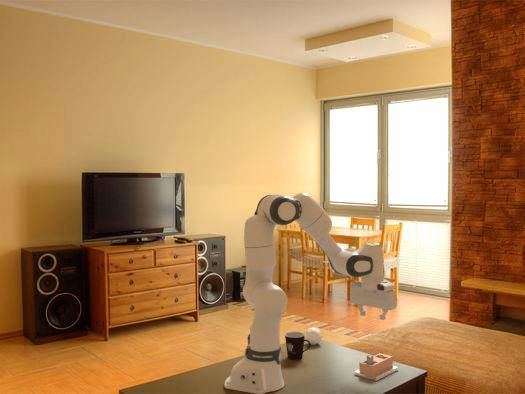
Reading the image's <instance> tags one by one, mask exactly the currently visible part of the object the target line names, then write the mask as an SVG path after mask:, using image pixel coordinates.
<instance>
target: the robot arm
mask: <svg viewBox="0 0 525 394" xmlns="http://www.w3.org/2000/svg"><path fill="white" fill-rule="evenodd" d="M256 206H257V207H256V209H255V211H254V213H253V214H254V215H251V216H250V217H248V218H247V219H246V221H245V223H244V230H243V231H244V233H243V240H244V242H243V244H244V254H245V264H246V266H245V268H246V269H245V270H246V271H245V280H244V281H245V282H244V285H243V288H242V295H243V297H244V299H245V301H246V303H247V304H248V305H249V306H251V307H252V308H254V314H253V315H254V316H253V319H252V323H251V324H250V327H249V334H250V344H249V345H248V344H247V346H246V347H245V350H244V355H245V356H244V357H243V358H242V359H240V360H239V361H238V362H237V363H235V364H234V365H233V367H232V369H231V371H230V375H229V376H228V377H227V378H226V379H225V381H224V385H223V387H224V388H225V389H227V390H233V391H239V392H244V393H250V394H266V393H269V392H276V391H278V390H281V389H282V388H284V386H285V385H286V384H285V380H284V378H283V373H282V366H281V362H282V348H281V346H280V344H281V343H280V342H281V341H280V336H281V335H280V334H281V333H280V332H281V331H280V329H281V328H280V327H281V323H282V322H281V320H282V316H283V312H284V311H285V310H286V308H288V307H287V306H288V301H289V300H288V296H287V294H286V292H285V291H284V290H283V289H282V288H281V287H280V286H278V285H276V284H274V283H273V274H274V268H275V267H276V264H277V262H276V261H277V258H276V251H275V242H274V241H275V240H274V230H275V228H276V226H277V225H278V226H287V225H291V224H292V223H293V222H296V223H297V224H298V226H299V227H300V228H302V231H304V233H306V234H307V235H308V236H309V237H310V238H311V239H312V240H313V241H314V242H315V243H316V245H317V246H318V247H319V248H320V250H321V251H322V252H323V253H324V255H325V256H326V257H327V260H328V262H329V265H330V268H331V269H332V270H333V272H335V273H336V274H339V275H344V276H347V277H352V278H360V277H361V281H357V280H354V281H352V282H351V283H350V293H349V301H350V303H351V304H354V305H357V308H358V311H359V315H360V316H362V317H364V316H366V310H364V308H363V307H364V306H365V307H370V308H375V309H376V308H377V309H381V310H382V311H381V312H382V314H379V320H380V321H381V320H382V321H385V320H386V316H387V314H388V312H389V311H394V310H396V308H397V306H398V305H397V303H398V300H397V293H396V291H395V289H396V284H394V283H392V282H391V281H389V280H388V279H386V278H385V277H384V276H385V275H384V270H383V269H384V266H385V264H384V262H385V261H384V260H385V259H384V252H383V251H384V250H383V248H382V246H381V245H379V244H376V243H369V242H364V243H363V244H362V245H361V246H360V247H359V248H357V249H356V250H353V251H348V250H347V249H343V248H342V247H340V246H339V245H338V243H337V242H336V241H335V240H334V238H333V237H332V236H331V234H330V232H331V230H332V227H333V221H332V219H331V217H330V215H329V214H328V212H327V211H326V210H325V209H324V207H322V206H321V205H320V204H319V202H317V200H316V199H314V198H313V197H312V196H311V195H309V194H308V193H306V192H300V193H296V194H295V195H293V196H292V197H290V196H286V195H281V194H266V195H265V196H263V197H261V199H260V200H259V201H258V203H257V205H256Z"/></svg>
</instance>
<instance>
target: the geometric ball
mask: <svg viewBox="0 0 525 394" xmlns="http://www.w3.org/2000/svg"><path fill="white" fill-rule="evenodd" d="M322 338H323V336H322V332H321V330H320V329H319V328H317V327H309V328H308V329H307V330H306V331H305V340H308V341H309V342H310V345H312V346H314V345H319V343H320V342H321V340H322Z"/></svg>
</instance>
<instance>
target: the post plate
mask: <svg viewBox="0 0 525 394" xmlns="http://www.w3.org/2000/svg"><path fill="white" fill-rule="evenodd" d="M379 354H380V353H379ZM383 354H384V353H381V354H380V358H382V359H383ZM373 356H374V355H369V354H368V355H366V359H367V364H370V365H373V364H374V359H373ZM398 370H399V367H398V366H396V365H393V366H392V367H390V368H388V369H386V370H384V371H382V372H380V373H378V374H376V375H374V376H370V375H366V374H363V373H359V369H357V370H355V371H354V373H353V374H354V375H355V376H357V377H360V378H363V379H364V378H365V379H368V380H371V381H374V382H378V381H379V380H381V379H384V378H385V377H387V376H389V375H391V374H394V373H395V372H397V371H398Z"/></svg>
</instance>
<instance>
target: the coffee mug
mask: <svg viewBox="0 0 525 394" xmlns="http://www.w3.org/2000/svg"><path fill="white" fill-rule="evenodd" d="M305 335H306V333H304V332H300V331H289V332H286V333H285V334H284V339H285V346H286V355H287V359H289V360H291V361H298V360H302V359H303V357H304V355H303V354H304V352H306V351H308V350H309V349H310V348H311V344H310V342H309V341H308V340H306V337H305ZM305 342H307V343H308V347H307V348H306V349H304V348H305V347H304V346H305Z"/></svg>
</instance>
